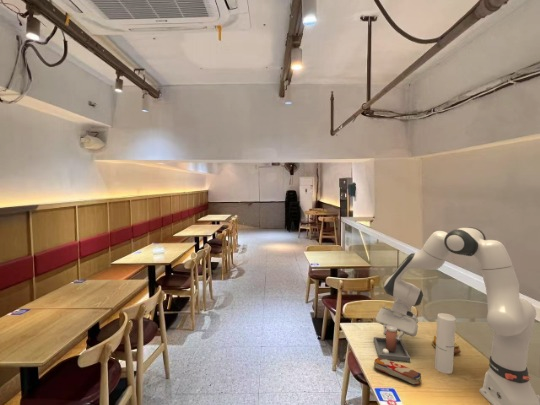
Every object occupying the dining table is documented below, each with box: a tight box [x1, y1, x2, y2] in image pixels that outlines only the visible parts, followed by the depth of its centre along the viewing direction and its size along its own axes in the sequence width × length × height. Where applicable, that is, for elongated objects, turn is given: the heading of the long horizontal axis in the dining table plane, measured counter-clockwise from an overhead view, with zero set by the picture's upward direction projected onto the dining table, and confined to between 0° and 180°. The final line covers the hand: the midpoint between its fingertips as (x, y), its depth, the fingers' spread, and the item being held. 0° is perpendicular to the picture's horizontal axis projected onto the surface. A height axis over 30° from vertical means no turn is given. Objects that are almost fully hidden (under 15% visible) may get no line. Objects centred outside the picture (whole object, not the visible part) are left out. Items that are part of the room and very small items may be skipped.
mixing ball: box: [382, 349, 389, 354], centre depth 147 cm, size 3×3×3 cm
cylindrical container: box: [434, 312, 457, 375], centre depth 136 cm, size 7×7×25 cm
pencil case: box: [373, 357, 422, 385], centre depth 133 cm, size 11×20×5 cm, turn 38°
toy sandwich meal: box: [431, 335, 462, 355], centre depth 154 cm, size 12×14×5 cm
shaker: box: [385, 324, 398, 351], centre depth 150 cm, size 5×5×11 cm
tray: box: [373, 336, 411, 364], centre depth 150 cm, size 16×14×2 cm
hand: (390, 337), depth 149 cm, fingers open, 5 cm apart
